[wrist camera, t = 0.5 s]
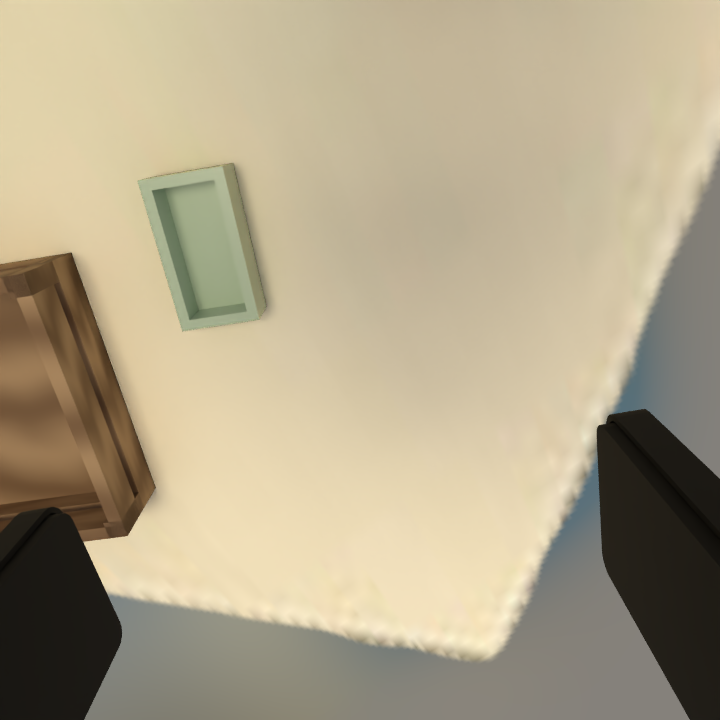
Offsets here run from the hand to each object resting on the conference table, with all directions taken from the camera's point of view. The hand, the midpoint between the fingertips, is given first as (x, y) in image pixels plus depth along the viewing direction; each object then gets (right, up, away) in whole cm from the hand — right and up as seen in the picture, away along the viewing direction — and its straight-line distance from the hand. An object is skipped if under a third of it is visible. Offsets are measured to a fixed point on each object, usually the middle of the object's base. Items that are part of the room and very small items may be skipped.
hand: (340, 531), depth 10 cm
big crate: (-27, 0, +34) cm, 44 cm away
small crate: (-10, +11, +29) cm, 33 cm away
